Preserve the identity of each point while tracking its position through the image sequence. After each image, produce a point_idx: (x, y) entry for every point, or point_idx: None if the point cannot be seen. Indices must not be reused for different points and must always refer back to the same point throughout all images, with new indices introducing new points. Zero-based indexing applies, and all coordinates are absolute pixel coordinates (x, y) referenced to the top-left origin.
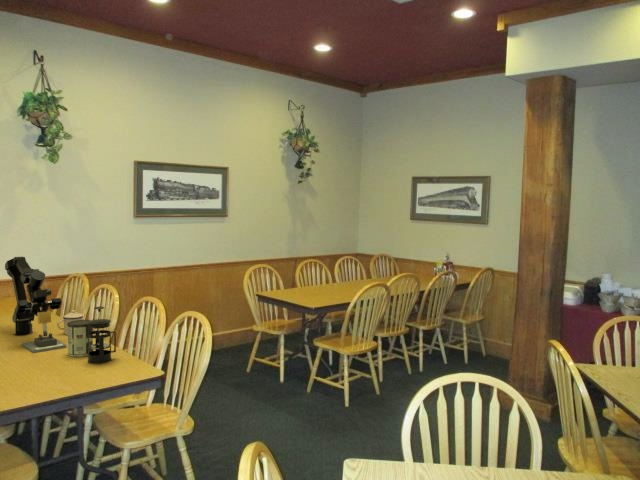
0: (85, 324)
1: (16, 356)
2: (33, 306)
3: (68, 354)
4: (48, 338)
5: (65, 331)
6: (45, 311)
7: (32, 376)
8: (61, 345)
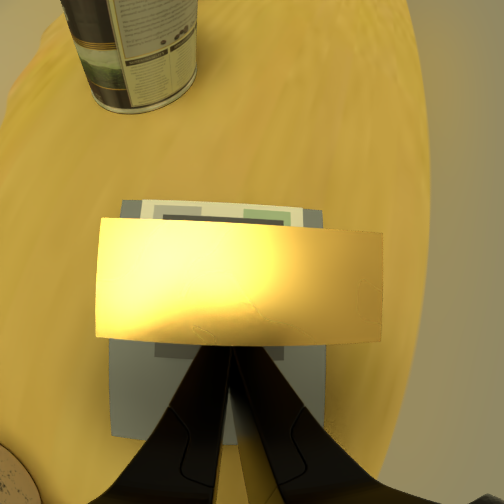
0: None
1: (392, 215)
2: (489, 494)
3: (194, 74)
4: None
5: (30, 496)
6: (158, 428)
7: (359, 10)
8: (152, 200)
